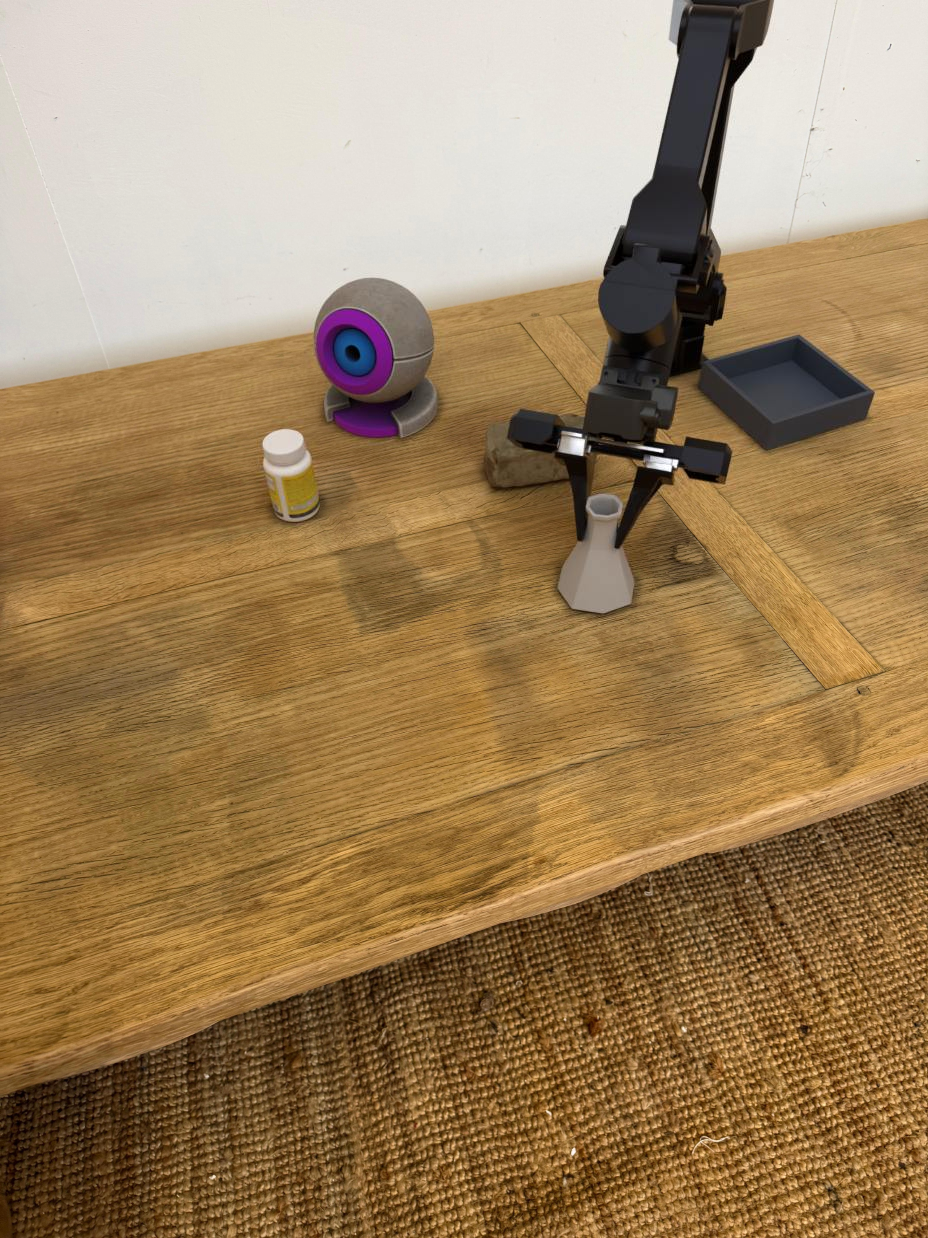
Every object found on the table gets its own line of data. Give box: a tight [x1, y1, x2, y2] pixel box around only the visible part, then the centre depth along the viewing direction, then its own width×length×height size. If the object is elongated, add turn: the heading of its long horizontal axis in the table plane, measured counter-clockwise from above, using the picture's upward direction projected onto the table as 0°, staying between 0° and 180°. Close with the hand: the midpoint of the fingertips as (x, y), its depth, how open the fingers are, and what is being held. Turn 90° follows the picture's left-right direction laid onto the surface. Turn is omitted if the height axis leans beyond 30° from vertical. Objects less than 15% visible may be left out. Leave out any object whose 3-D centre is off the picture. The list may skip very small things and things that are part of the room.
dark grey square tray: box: [697, 333, 876, 452], centre depth 105 cm, size 13×13×4 cm
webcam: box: [313, 277, 439, 439], centre depth 102 cm, size 13×13×15 cm
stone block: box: [482, 413, 598, 488], centre depth 97 cm, size 6×12×5 cm, turn 102°
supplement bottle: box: [262, 428, 321, 523], centre depth 93 cm, size 5×5×8 cm
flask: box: [557, 492, 636, 614], centre depth 83 cm, size 7×7×10 cm
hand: (598, 545), depth 81 cm, fingers closed on flask, 3 cm apart
